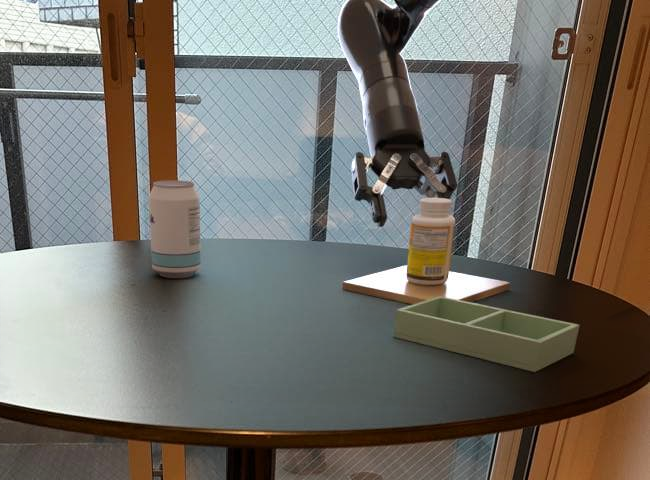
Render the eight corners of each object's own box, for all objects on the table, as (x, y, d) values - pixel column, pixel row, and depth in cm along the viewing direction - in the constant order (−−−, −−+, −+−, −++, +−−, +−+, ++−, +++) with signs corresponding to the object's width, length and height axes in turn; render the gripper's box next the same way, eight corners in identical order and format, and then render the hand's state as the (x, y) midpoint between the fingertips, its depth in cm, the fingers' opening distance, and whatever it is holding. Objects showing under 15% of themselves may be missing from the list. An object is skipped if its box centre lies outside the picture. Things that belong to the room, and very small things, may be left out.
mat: (409, 271, 118) (410, 264, 117) (509, 289, 108) (510, 282, 108) (342, 289, 108) (342, 281, 107) (445, 311, 98) (446, 303, 98)
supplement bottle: (422, 275, 111) (431, 195, 106) (455, 282, 107) (467, 200, 102) (396, 281, 108) (404, 199, 103) (430, 288, 104) (440, 204, 99)
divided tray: (435, 321, 94) (439, 295, 93) (573, 353, 84) (579, 324, 83) (393, 336, 89) (396, 309, 87) (534, 372, 79) (540, 342, 77)
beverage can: (156, 268, 118) (152, 179, 112) (203, 269, 117) (201, 180, 111) (148, 279, 112) (144, 186, 106) (198, 280, 111) (196, 186, 105)
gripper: (351, 102, 109) (370, 206, 105) (449, 102, 111) (472, 204, 108) (337, 142, 116) (355, 240, 112) (429, 142, 118) (450, 238, 115)
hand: (412, 222), depth 110 cm, fingers open, 8 cm apart
